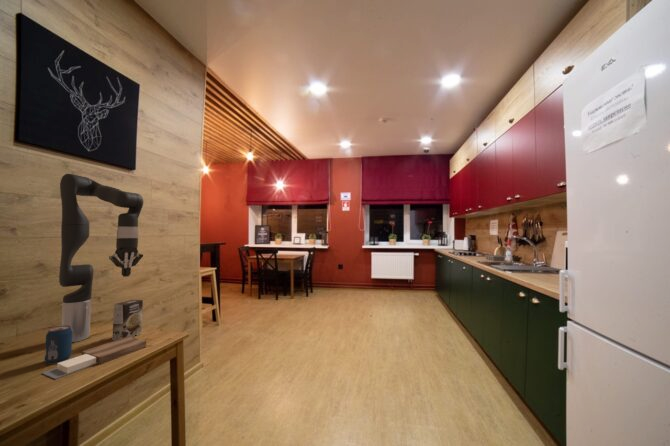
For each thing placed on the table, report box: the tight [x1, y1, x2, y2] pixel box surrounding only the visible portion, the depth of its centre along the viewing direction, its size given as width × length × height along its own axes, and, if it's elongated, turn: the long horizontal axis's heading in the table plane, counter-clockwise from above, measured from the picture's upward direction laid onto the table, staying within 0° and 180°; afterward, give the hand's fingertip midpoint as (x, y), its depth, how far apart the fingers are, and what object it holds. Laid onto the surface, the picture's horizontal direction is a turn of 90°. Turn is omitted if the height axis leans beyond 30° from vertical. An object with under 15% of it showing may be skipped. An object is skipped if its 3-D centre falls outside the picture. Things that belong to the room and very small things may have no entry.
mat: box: [41, 362, 99, 381], centre depth 93 cm, size 9×12×1 cm
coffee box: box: [111, 299, 144, 341], centre depth 122 cm, size 9×6×16 cm
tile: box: [56, 354, 96, 373], centre depth 94 cm, size 7×8×2 cm
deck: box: [81, 336, 147, 365], centre depth 106 cm, size 12×16×2 cm
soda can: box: [44, 325, 73, 365], centre depth 99 cm, size 7×7×12 cm
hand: (125, 276), depth 116 cm, fingers closed
